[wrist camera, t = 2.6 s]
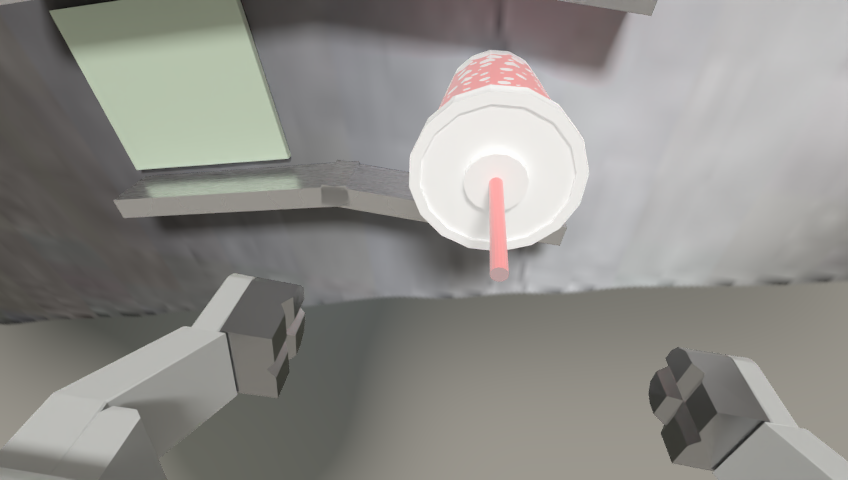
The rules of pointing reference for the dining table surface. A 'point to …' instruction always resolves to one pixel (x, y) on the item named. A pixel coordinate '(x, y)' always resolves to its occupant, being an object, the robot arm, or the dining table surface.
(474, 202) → the beverage cup
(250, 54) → the pad
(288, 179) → the rail corridor
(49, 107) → the dining table surface
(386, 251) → the dining table surface
